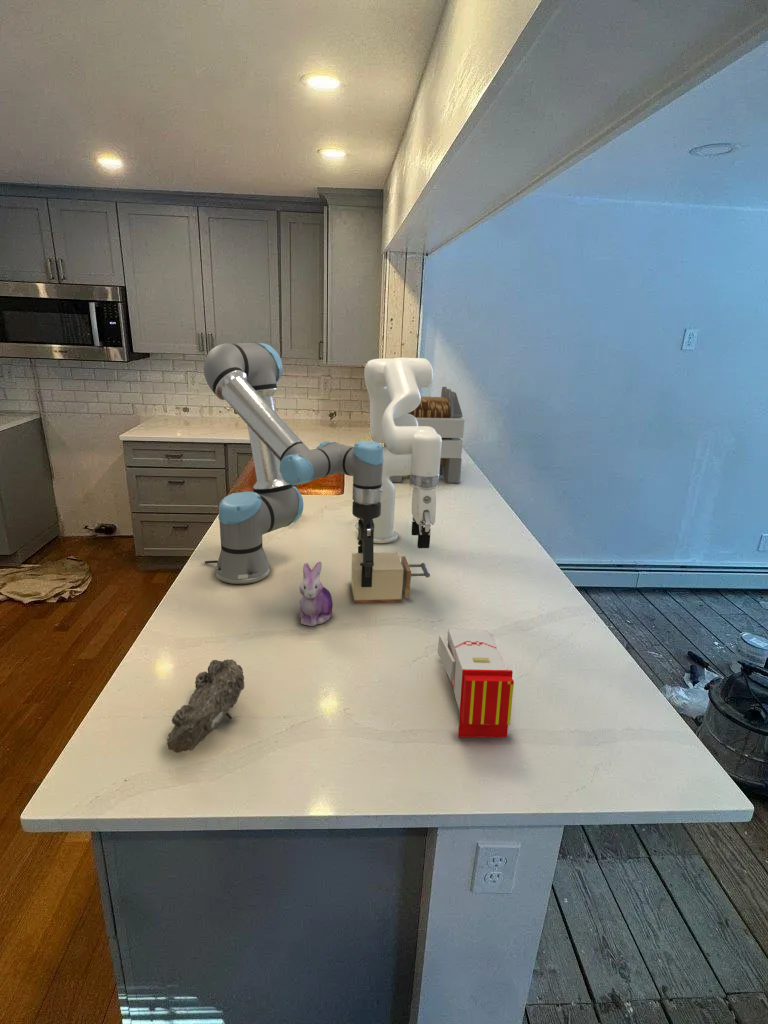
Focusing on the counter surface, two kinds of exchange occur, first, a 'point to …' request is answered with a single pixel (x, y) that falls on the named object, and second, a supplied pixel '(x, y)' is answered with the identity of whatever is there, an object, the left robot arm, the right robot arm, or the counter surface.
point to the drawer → (408, 574)
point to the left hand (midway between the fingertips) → (364, 576)
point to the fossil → (206, 705)
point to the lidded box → (378, 579)
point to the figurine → (314, 598)
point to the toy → (478, 682)
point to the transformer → (443, 431)
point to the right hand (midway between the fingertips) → (420, 541)
